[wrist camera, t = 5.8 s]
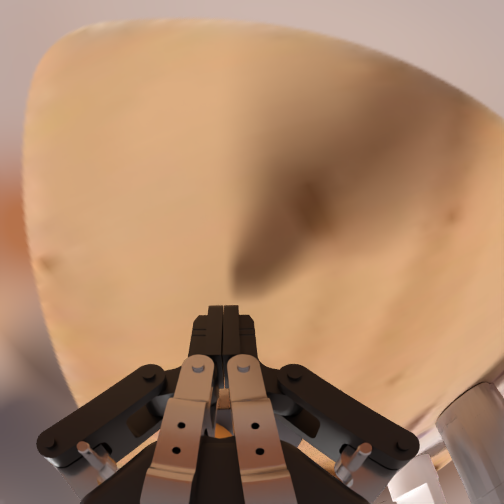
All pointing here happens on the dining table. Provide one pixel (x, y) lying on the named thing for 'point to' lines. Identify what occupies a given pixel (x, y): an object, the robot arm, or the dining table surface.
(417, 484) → the cylinder with rectangular tab
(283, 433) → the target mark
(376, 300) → the dining table surface
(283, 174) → the dining table surface
